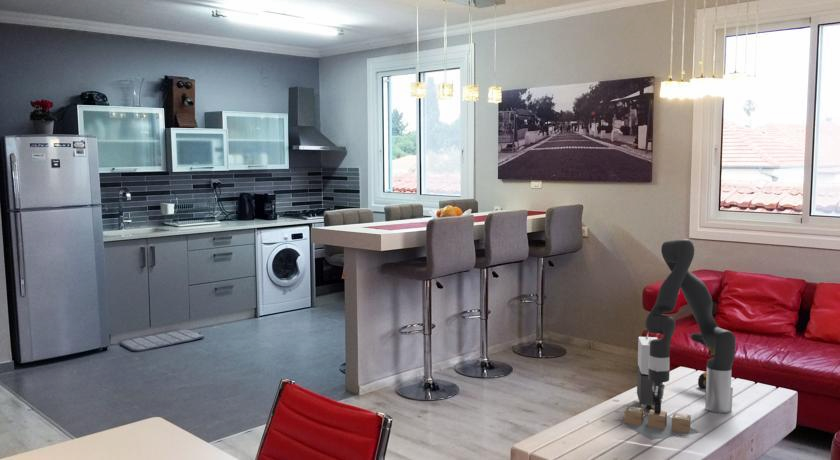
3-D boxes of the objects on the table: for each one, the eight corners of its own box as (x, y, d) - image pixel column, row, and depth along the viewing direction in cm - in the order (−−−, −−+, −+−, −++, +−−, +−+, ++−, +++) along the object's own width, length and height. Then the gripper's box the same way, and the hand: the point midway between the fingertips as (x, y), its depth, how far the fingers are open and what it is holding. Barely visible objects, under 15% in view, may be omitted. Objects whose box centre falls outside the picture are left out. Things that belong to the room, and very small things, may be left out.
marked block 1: (627, 418, 282) (627, 405, 282) (643, 421, 280) (643, 407, 279) (624, 423, 277) (625, 410, 276) (640, 426, 274) (641, 412, 274)
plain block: (650, 422, 279) (650, 409, 278) (666, 424, 276) (667, 411, 276) (647, 427, 273) (648, 414, 273) (664, 429, 271) (664, 416, 270)
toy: (659, 412, 291) (661, 338, 289) (640, 411, 293) (642, 337, 290) (655, 400, 306) (657, 330, 303) (636, 399, 307) (638, 329, 305)
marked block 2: (673, 425, 275) (673, 412, 274) (690, 428, 272) (690, 414, 272) (671, 430, 270) (671, 417, 269) (688, 433, 267) (689, 419, 266)
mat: (662, 414, 289) (662, 413, 289) (701, 434, 268) (701, 432, 268) (615, 421, 281) (615, 419, 281) (650, 441, 261) (651, 439, 261)
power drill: (692, 379, 336) (694, 326, 334) (733, 391, 318) (735, 335, 316) (681, 382, 332) (683, 328, 330) (722, 394, 314) (724, 338, 312)
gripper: (651, 362, 280) (649, 405, 282) (645, 370, 268) (644, 416, 270) (671, 364, 277) (670, 408, 278) (667, 373, 265) (665, 419, 267)
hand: (657, 412), depth 274 cm, fingers closed
